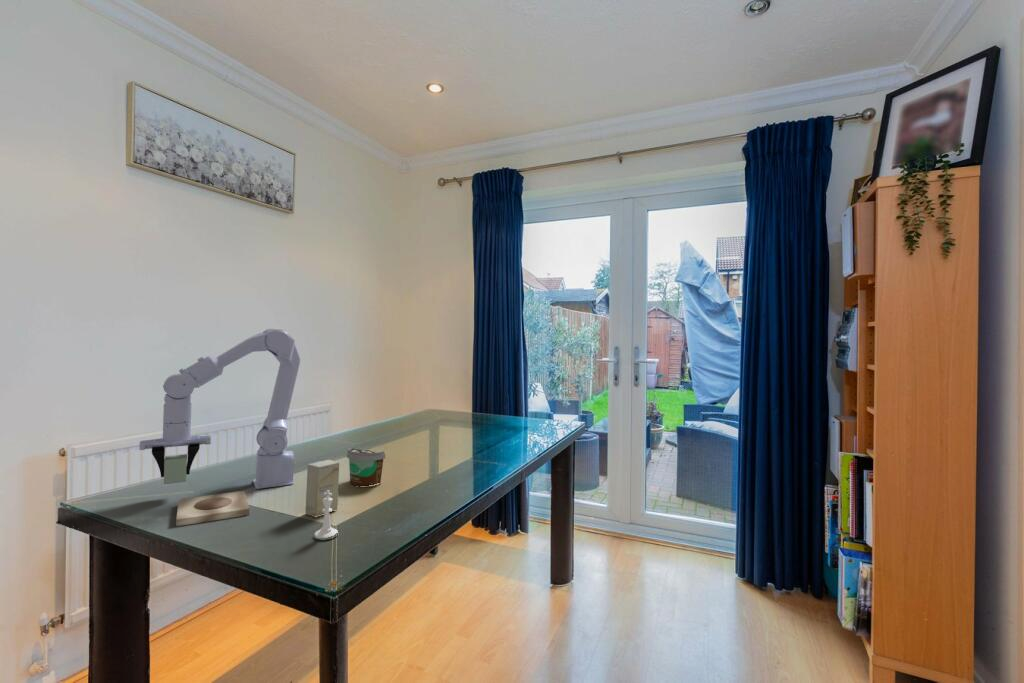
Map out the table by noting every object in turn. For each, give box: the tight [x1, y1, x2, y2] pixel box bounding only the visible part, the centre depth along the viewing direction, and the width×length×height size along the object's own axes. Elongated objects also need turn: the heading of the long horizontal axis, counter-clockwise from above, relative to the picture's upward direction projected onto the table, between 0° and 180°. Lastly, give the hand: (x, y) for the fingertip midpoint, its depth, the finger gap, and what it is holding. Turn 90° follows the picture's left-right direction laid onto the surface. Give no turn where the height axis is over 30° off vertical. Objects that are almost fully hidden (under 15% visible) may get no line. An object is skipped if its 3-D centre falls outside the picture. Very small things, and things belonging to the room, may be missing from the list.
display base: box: [175, 490, 250, 527], centre depth 111 cm, size 14×14×2 cm
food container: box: [346, 445, 386, 488], centre depth 134 cm, size 12×6×10 cm, turn 68°
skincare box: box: [305, 459, 340, 517], centre depth 112 cm, size 6×4×12 cm
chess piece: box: [313, 490, 339, 538], centre depth 100 cm, size 5×5×10 cm
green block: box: [163, 453, 188, 485], centre depth 117 cm, size 4×4×6 cm
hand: (175, 474), depth 117 cm, fingers closed on green block, 4 cm apart
